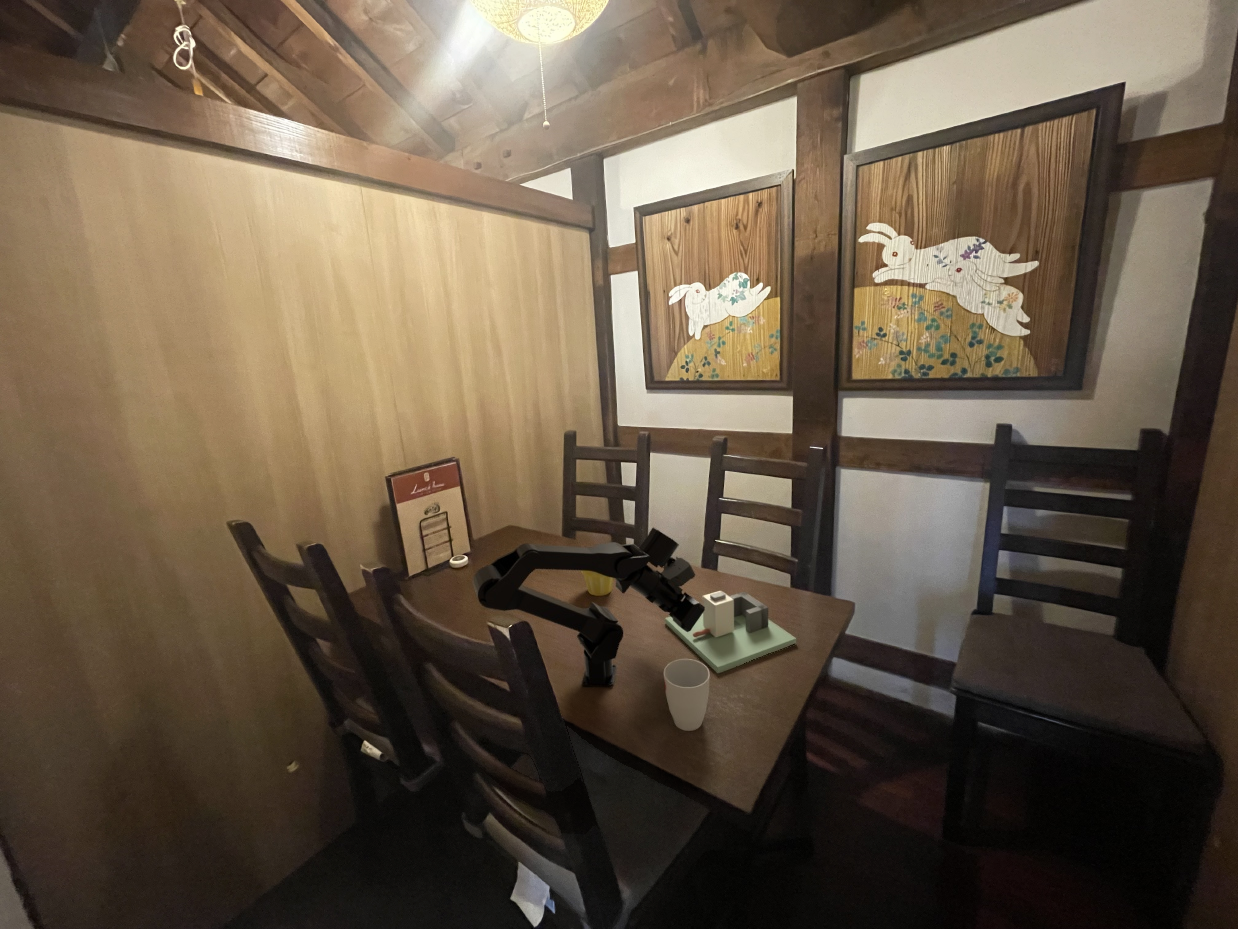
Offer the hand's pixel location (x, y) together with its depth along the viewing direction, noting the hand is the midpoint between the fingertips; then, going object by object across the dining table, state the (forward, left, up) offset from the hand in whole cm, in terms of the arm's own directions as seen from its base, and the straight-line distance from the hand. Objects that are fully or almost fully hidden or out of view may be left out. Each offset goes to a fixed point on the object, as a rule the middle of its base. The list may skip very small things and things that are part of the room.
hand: (694, 615), depth 112 cm
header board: (+4, -8, -7) cm, 11 cm away
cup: (-24, +3, -7) cm, 25 cm away
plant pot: (+26, +26, -7) cm, 37 cm away
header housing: (+7, -13, -6) cm, 16 cm away
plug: (+2, -4, -5) cm, 7 cm away
